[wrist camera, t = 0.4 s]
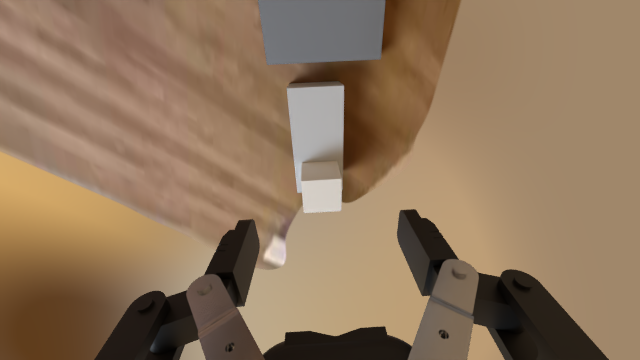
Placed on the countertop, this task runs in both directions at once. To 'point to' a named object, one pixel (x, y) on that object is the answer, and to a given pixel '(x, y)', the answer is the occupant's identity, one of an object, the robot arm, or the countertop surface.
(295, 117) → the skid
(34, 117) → the countertop surface
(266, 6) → the dock
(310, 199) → the block
